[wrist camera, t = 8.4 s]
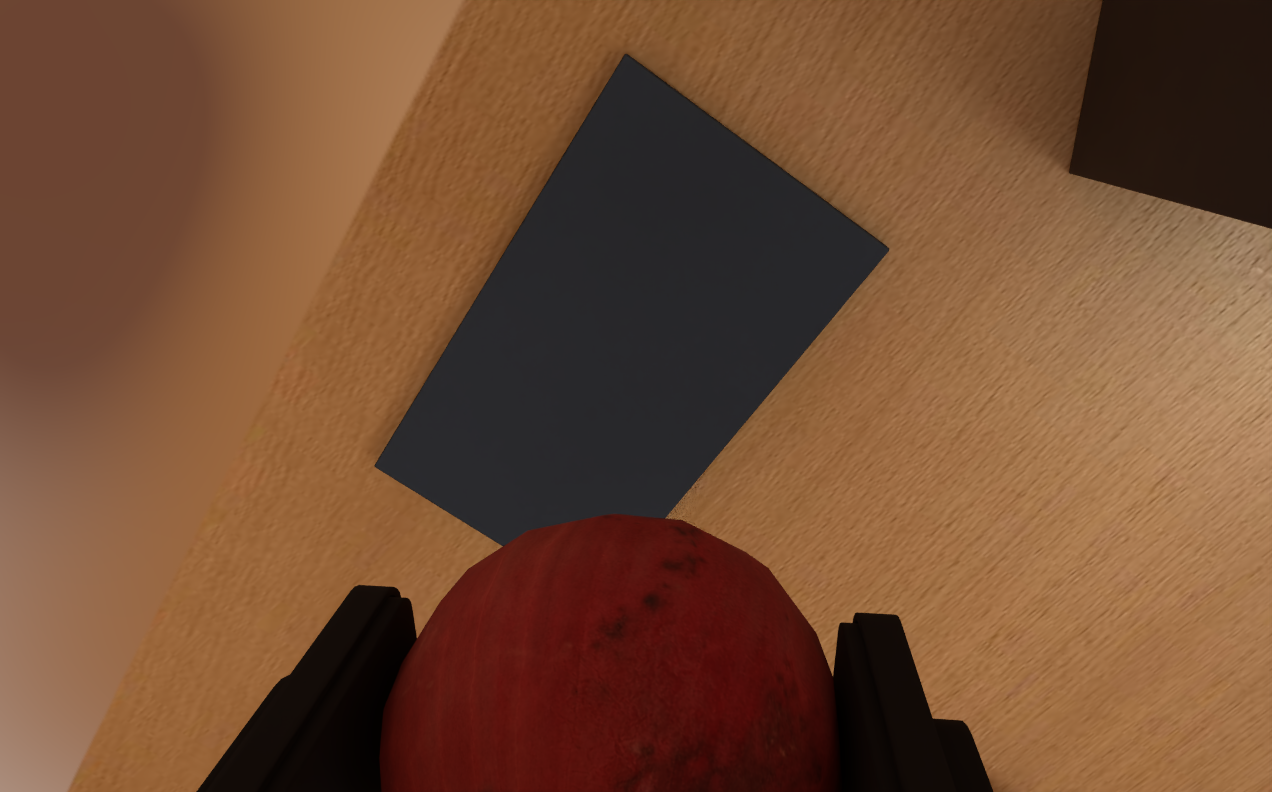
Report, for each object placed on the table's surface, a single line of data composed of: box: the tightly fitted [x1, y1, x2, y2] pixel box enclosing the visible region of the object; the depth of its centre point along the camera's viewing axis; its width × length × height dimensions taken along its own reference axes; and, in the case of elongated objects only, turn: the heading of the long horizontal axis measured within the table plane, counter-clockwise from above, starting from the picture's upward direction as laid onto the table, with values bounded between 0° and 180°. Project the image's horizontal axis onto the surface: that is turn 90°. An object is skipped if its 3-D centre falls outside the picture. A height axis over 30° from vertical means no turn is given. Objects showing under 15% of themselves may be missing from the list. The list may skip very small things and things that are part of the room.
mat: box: [375, 54, 889, 546], centre depth 37 cm, size 24×14×1 cm, turn 146°
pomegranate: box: [379, 514, 842, 792], centre depth 10 cm, size 6×6×8 cm
